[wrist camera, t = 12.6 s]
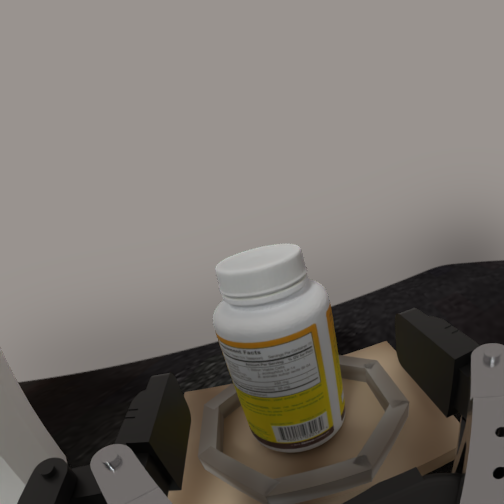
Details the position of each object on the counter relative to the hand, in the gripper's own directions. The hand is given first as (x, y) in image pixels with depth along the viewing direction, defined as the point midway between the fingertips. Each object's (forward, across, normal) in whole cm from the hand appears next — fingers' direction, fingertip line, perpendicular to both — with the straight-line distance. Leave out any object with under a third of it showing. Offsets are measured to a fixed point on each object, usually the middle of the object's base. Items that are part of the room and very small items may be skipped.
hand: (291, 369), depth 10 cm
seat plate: (+5, 0, +8) cm, 10 cm away
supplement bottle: (+5, 0, +7) cm, 9 cm away
